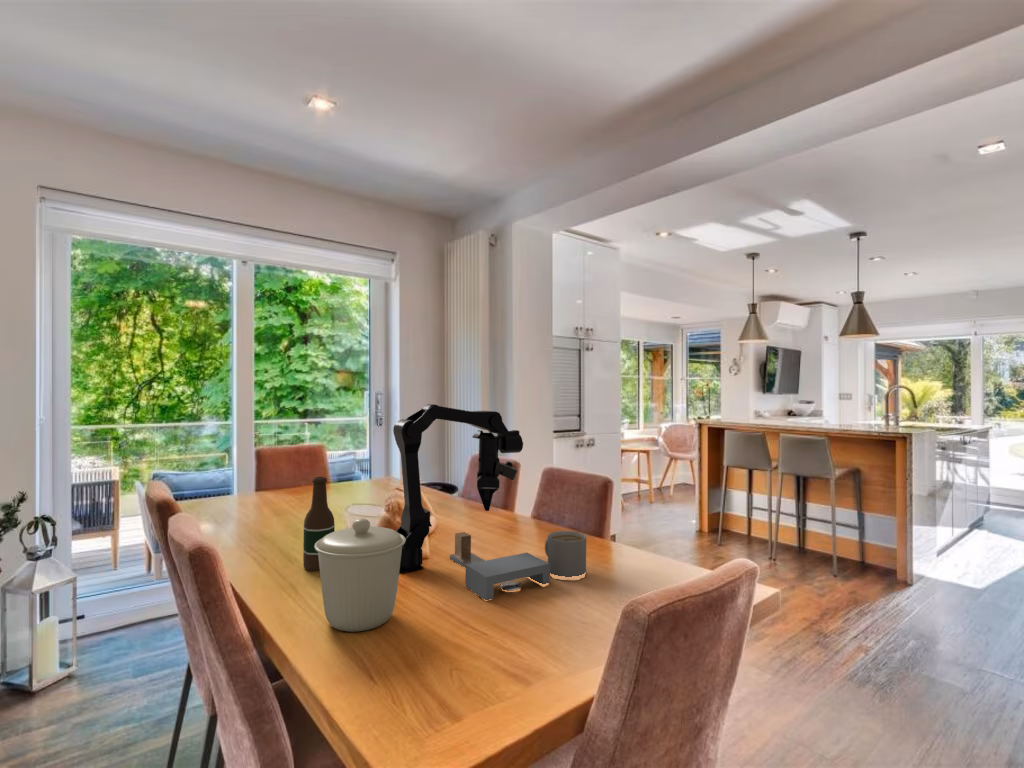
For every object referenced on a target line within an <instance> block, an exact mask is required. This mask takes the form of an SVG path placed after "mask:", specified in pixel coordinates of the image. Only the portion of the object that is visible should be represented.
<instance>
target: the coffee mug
mask: <svg viewBox="0 0 1024 768" xmlns="http://www.w3.org/2000/svg"><path fill="white" fill-rule="evenodd" d="M544 552H545V554H546V557H547V562H548V563H550V573H551V574H554V575H558V576H565V577H572V576H579V575H582V574H584V573H585V572H586V573H587V535H585V533H582V532H578V531H573V530H557V531H552V532H549V534H548V535H547V537H546V539H545V541H544Z"/></svg>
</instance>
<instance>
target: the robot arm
mask: <svg viewBox="0 0 1024 768" xmlns="http://www.w3.org/2000/svg"><path fill="white" fill-rule="evenodd" d="M436 420H442V421H448V422H455V423H461V424H467V425H470V426H471V427H474V428H477V429H478V430H477V432H475V433H474V434H473V435H472V438H473V439H477V440H479V441H478V466H477V467H478V468H477V472H476V473H477V474H476V478H477V479H476V489H477V491H478V495H479V497H480V500H481V503H482V506H483V508H484V511H485V512H489V511H490V508H491V504H492V499H493V496H494V494H495V493H496V492H497V491H498V490H499V489H500V478H499V477H500V475H501V476H502V477H505V478H507V479H509V480H511V481H514V480H515V478H516V475H517V474H518V473H517V472H518V469H517V468H516V467H514V466H513V462H512V461H509V460H507V461H506V462H500V457H499V453H501V454H517V453H520V452H522V450H523V447H524V442H523V438H522V436H521V434H520V430H517V429H512V430H508V428H507V426H506V425H505V423H504V422H503V417H502V415H501V413H500V412H498V411H495V410H493V411H492V410H472V411H470V410H464V409H459V408H454V407H453V408H452V407H446V406H440V405H437V404H431V403H430V404H429V403H428V404H426V405H424V406H423V407H422V408H421V409H419V410H417V411H415V412H413V413H412V414H411V415H409V416H407V417H406V418H405V419H400V420H398V421H396V423H395V424H394V426H393V430H392V431H393V436H394V439H395V443H396V445H397V448H398V451H399V452H400V461H401V471H402V473H401V474H402V484H403V485H402V486H403V498H404V499H403V500H404V506H403V509H402V512H401V518H400V519H401V520H400V526H399V527H398V528H397V529H396V530H395V531H396V532H398V533H399V534H401V535H403V536H404V537H405V539H406V541H405V544H404V545H403V546H402V553H401V562H400V570H399V574H402V573H409V572H413V571H420V570H423V569H424V566H423V549H422V547H423V545H424V542H425V539H426V538H427V537H428V535H429V534H430V530H431V529H430V527H431V528H432V524H431V523H432V522H431V511H429V510H428V509H426V508H424V506H423V503H422V490H421V489H422V488H421V478H420V476H421V474H420V464H419V463H420V462H419V450H420V447H421V445H422V436H423V433H424V432H425V431H426V430H427V429H429V427H430V426H431V425H432V424H433V423H434V422H435V421H436ZM484 431H488V432H484ZM494 434H497V435H494Z"/></svg>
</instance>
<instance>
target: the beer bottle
mask: <svg viewBox="0 0 1024 768" xmlns="http://www.w3.org/2000/svg"><path fill="white" fill-rule="evenodd" d="M311 482H312V483H313V484H312V485H313V486H312V497H311V499H312V500H311V505H310V509H309V510H308V512H306V515H305V518H304V520H303V550H302V551H303V553H302V554H303V556H302V557H303V559H302V561H303V569H305V570H306V571H307V570H308V571H307V572H314V571H319V572H320V567H319V556H318V552H317V551H316V550H315V547H314V546H315V543H316V542H317V541H318V540H320V539H322V538H323V537H324V536H326V535H327V534H330V533H332V532H335V531H336V530H335V528H336V527H335V526H336V525H335V517H334V514H333V512H332V511H331V510H330V508H329V506H328V496H327V493H328V492H327V482H328V479H327V477H325V476H316V477H313V478H312V481H311Z"/></svg>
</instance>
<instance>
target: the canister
mask: <svg viewBox="0 0 1024 768" xmlns="http://www.w3.org/2000/svg"><path fill="white" fill-rule="evenodd" d="M351 525H352V527H349V528H342V529H338V530H335V531H334V532H332V533H330V534H327V535H326V536H324V537H323V538H322V539H320V540H318V541H317V542H316V543H315V546H314V547H315V550H316V551H317V552H318V556H319V567H320V571H319V575H320V586H321V593H322V601H323V609H324V615H325V618H326V621H327V622H328V624H329V625H330V626H331V627H333V628H334V629H336V630H338V631H344V632H353V633H354V632H364V631H369V630H372V629H375V628H377V627H380V626H381V625H383V624H384V625H385V623H386V622H388V620H389V619H390V618H391V617H392V615H393V613H394V610H395V606H396V598H397V595H398V594H397V592H398V586H399V577H400V573H399V570H400V562H401V553H402V546H403V545H404V544H405V541H406V539H405V537H404V536H403V535H401V534H399V533H398V532H396V530H394V529H392V528H389V527H383V526H371V522H370V521H369V519H367V518H365V517H363V518H357V519H356V520H354V521H353V522H352V524H351Z"/></svg>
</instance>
